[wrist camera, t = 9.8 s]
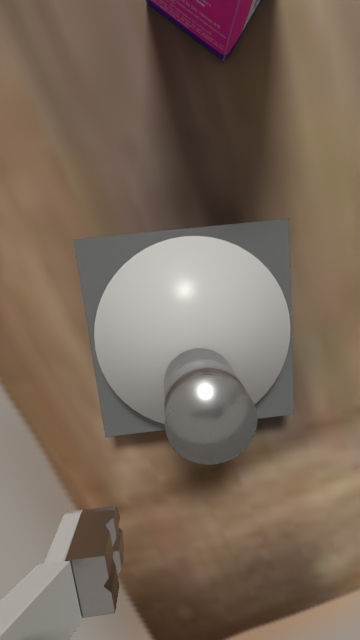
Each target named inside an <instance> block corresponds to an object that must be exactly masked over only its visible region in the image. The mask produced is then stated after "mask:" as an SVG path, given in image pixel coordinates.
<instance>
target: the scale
mask: <svg viewBox="0 0 360 640" xmlns="http://www.w3.org/2000/svg"><path fill="white" fill-rule="evenodd" d="M74 245H75V251H76V257H77V264H78V270H79V276H80V282H81V288H82V295H83V301H84V307H85V313H86V319H87V326H88V332H89V338H90V344H91V350H92V357H93V363H94V369H95V375H96V381H97V388H98V394H99V400H100V406H101V412H102V418H103V425H104V431H105V437H111V436H119V435H127V434H136V433H144V432H152V431H160V430H165V407H164V376H165V372H166V370H167V368H168V366H169V364H170V363H171V362H172V360H173V359H174V358H175V357H177V356H178V355H179V354H181V353H183V352H185V351H187V350H190V349H195V348H205V349H210V350H213V351H215V352H217V353H219V354H220V355H222V356H223V357H224V358H225V359H226V360H227V362H228V363H229V365H230V366H231V368H232V369H233V371H234V372H235V374H236V375H237V377H238V379H239V380H240V382H241V383H242V385H243V386H244V388H245V390H246V391H247V393H248V394H249V396H250V397H251V399H252V401H253V402H254V405H255V407H256V411H257V419H260V418H268V417H276V416H284V415H293V414H294V388H293V351H292V314H291V277H290V240H289V219H279V220H269V221H259V222H248V223H238V224H228V225H217V226H207V227H197V228H186V229H176V230H166V231H155V232H145V233H135V234H124V235H114V236H104V237H94V238H83V239H74Z"/></svg>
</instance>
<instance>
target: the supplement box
mask: <svg viewBox="0 0 360 640" xmlns="http://www.w3.org/2000/svg"><path fill="white" fill-rule="evenodd" d="M146 2H147V3H149V4H150V5H151V6H152V7H154V8H155V9H156V10H158V11H159V12H160V13H162V14H163V15H164V16H166V17H167V18H168V19H169V20H171V21H172V22H173V23H175V24H176V25H177V26H179V27H180V28H181V29H183V30H184V31H185V32H186V33H188V34H189V35H190V36H192V37H193V38H194V39H196V40H197V41H198V42H200V43H201V44H202V45H204V46H205V47H206V48H208V49H209V50H210V51H212V52H213V53H214V54H215V55H216V56H218V57H219V58H220V59H221V60H222V61H225V60H226V59H227V58H228V56H229V55H230V53H231V51H232V50H233V48H234V47H235V45H236V43H237V42H238V40H239V38H240V36H241V35H242V33H243V31H244V30H245V28H246V26H247V24H248V23H249V21H250V19H251V17H252V16H253V14H254V12H255V10H256V9H257V7H258V5H259V3H260V2H261V0H146Z"/></svg>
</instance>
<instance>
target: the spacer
mask: <svg viewBox="0 0 360 640" xmlns="http://www.w3.org/2000/svg"><path fill="white" fill-rule="evenodd" d="M164 407H165V431H166V435H167V438H168V441H169V443H170V444H171V446H172V447H173V449H174V450H175V451H176V452H177V453H178V454H179V455H181V456H182V457H184V458H185V459H187V460H189V461H191V462H194V463H198V464H206V465H212V464H219V463H223V462H226V461H229V460H231V459H233V458H235V457H236V456H238V455H239V454H240V453H242V452H243V451H244V450H245V449H246V448H247V446H248V445H249V444H250V442H251V441H252V439H253V437H254V435H255V432H256V428H257V411H256V407H255V405H254V402H253V401H252V399H251V397H250V396H249V394H248V393H247V391H246V390H245V388H244V386H243V385H242V383H241V382H240V380H239V379H238V377H237V375H236V374H235V372H234V371H233V369H232V368H231V366H230V365H229V363H228V362H227V360H226V359H225V358H224V357H223V356H222V355H220V354H219V353H217V352H215V351H213V350H210V349H205V348H195V349H190V350H187V351H185V352H183V353H181V354H179V355H178V356H177V357H175V358H174V359H173V360H172V362H171V363H170V364H169V366H168V368H167V370H166V372H165V376H164Z"/></svg>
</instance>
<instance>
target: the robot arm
mask: <svg viewBox="0 0 360 640" xmlns="http://www.w3.org/2000/svg"><path fill="white" fill-rule="evenodd" d="M119 521H120V515H119V510H118V508H117V507H109V508H96V509H84V510H76V511H67V512H66V513H65V514H64V515H63V518H62V520H61V522H60V525H59V528H58V530H57V532H56V535H55V537H54V539H53V542H52V544H51V547H50V549H49V552H48V554H47V556H46V559H45V562H44V564H38V565H37V566H36V567H35V568H34V569H33V570H32V571H31V572H30V573H29V574H28V575H27V576H25V577H24V579H22V580H21V581H20V582H19V583H18V584H17V585H16V586H15V587H14V588H13V589H12V590H11V591H10V592H9V593H8V594H7V595H6V596H5V597H4V598H3V599H1V601H0V640H70V638H71V637H72V635H73V634H74V632H75V631H76V629H77V627H78V626H79V624H80V623H81V622H82V618H85V617H91V616H98V615H106V614H112V613H115V609H116V603H117V597H118V590H119V582H118V576H117V575H118V573H119V572H120V571H121V570H122V564H123V552H124V543H123V533H122V530H121V529H120V528H119Z"/></svg>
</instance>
